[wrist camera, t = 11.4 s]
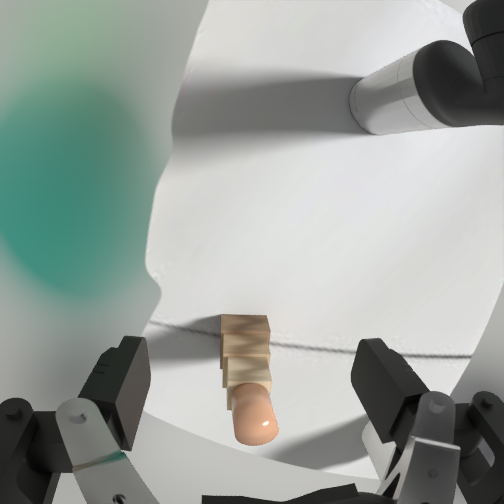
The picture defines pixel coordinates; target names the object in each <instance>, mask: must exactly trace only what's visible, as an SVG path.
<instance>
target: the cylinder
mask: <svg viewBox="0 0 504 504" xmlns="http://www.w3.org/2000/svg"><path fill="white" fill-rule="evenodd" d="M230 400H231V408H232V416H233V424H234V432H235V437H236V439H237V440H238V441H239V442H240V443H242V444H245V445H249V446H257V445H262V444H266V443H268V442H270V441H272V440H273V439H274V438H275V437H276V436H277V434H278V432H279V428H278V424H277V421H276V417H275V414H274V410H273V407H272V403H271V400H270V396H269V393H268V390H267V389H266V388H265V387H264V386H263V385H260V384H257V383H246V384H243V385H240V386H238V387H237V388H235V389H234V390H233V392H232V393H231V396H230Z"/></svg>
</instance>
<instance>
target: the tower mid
mask: <svg viewBox="0 0 504 504" xmlns="http://www.w3.org/2000/svg"><path fill="white" fill-rule="evenodd" d="M228 356H237V357H267V360H268V365H269V362H270V350H269V345H268V341H267V336H266V334H232V333H224V339H223V388H227V366H228Z"/></svg>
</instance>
